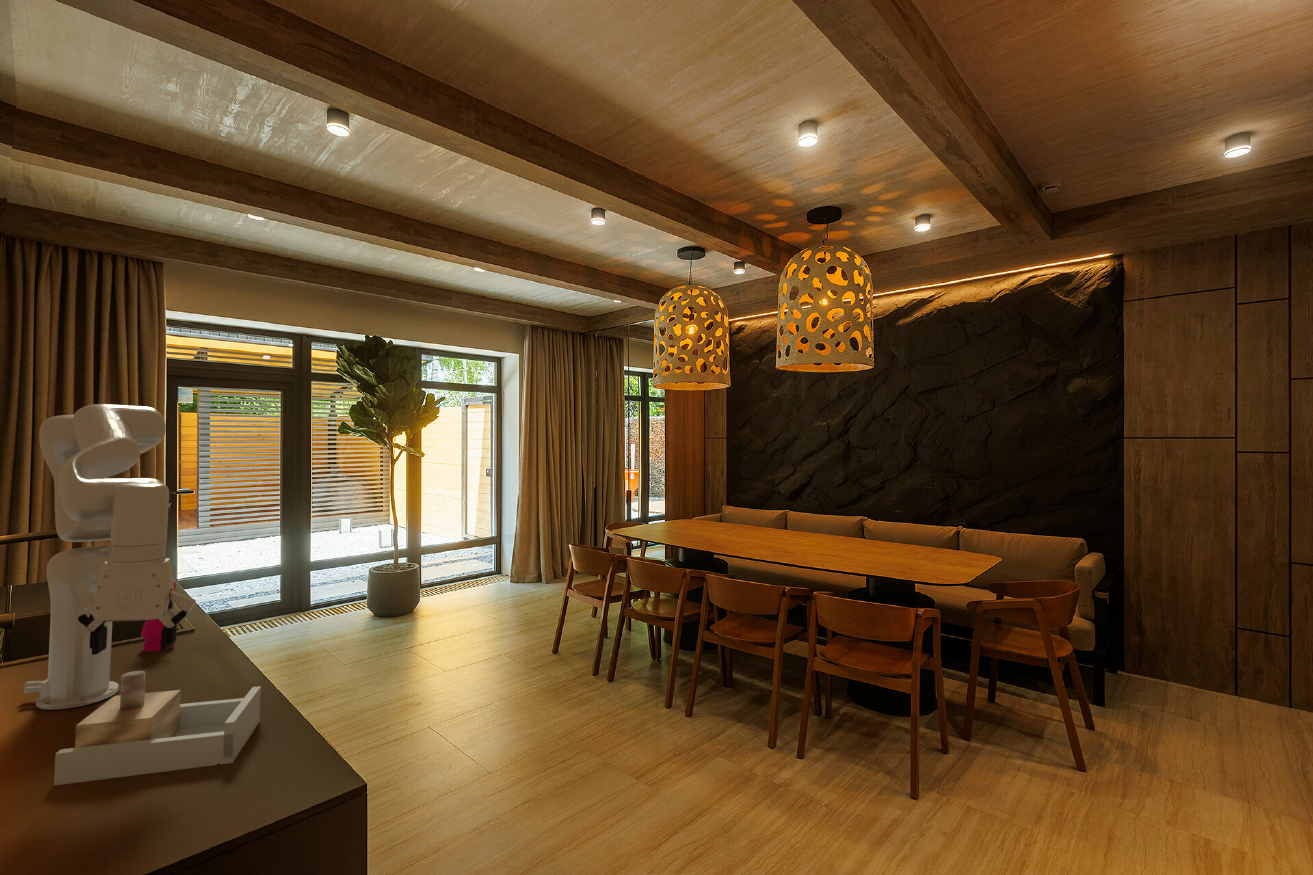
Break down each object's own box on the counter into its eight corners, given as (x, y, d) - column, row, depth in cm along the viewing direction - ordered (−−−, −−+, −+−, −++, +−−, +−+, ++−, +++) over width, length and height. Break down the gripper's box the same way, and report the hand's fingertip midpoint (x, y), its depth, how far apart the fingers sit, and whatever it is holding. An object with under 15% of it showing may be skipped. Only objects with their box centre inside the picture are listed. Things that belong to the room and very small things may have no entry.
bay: (54, 785, 95) (56, 740, 95) (107, 738, 110) (109, 699, 110) (232, 762, 103) (234, 721, 103) (259, 721, 118) (261, 686, 118)
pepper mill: (155, 653, 153) (159, 575, 153) (133, 651, 154) (136, 573, 155) (183, 644, 160) (186, 569, 160) (161, 642, 161) (164, 568, 162)
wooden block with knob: (74, 768, 97) (77, 690, 97) (112, 734, 108) (115, 664, 109) (149, 759, 100) (152, 684, 101) (179, 727, 112) (182, 659, 112)
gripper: (63, 558, 99) (57, 661, 99) (189, 556, 104) (183, 654, 104) (88, 549, 106) (83, 645, 106) (205, 548, 112) (200, 639, 112)
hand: (133, 649), depth 105 cm, fingers open, 9 cm apart
